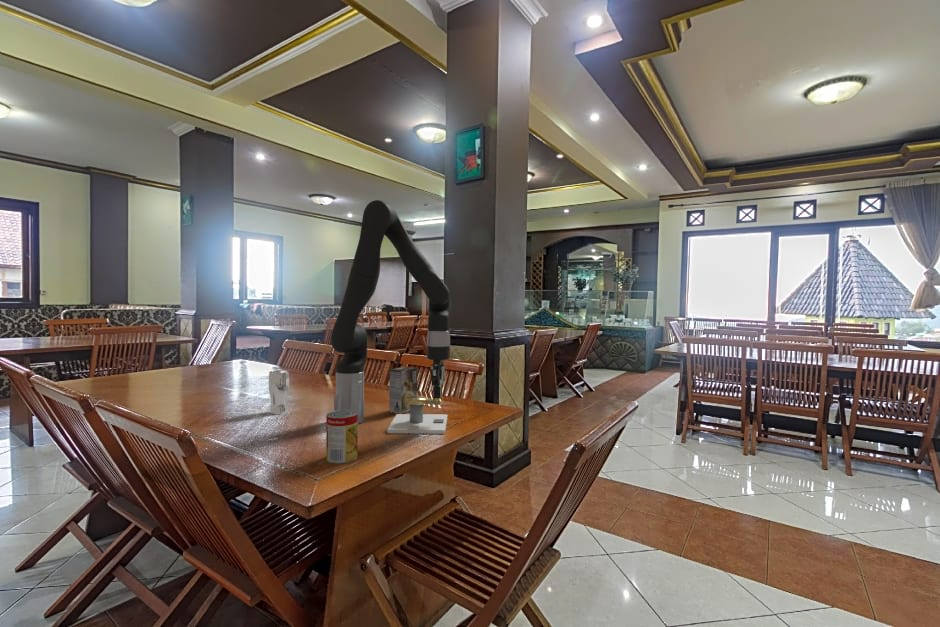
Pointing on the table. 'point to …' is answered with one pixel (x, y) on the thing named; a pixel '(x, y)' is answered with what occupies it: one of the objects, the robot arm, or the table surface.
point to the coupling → (423, 400)
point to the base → (423, 426)
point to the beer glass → (278, 391)
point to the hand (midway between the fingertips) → (438, 396)
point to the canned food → (341, 435)
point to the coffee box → (401, 388)
